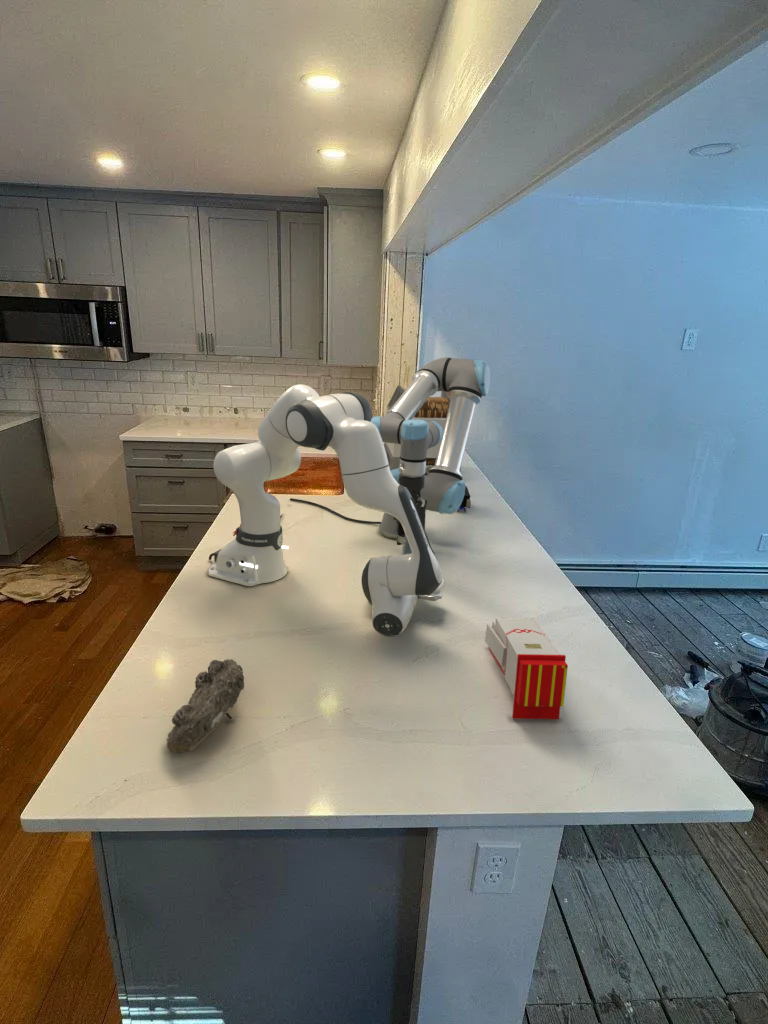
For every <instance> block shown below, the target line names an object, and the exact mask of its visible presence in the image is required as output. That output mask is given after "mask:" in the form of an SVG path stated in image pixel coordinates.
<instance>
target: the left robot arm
mask: <svg viewBox="0 0 768 1024" xmlns="http://www.w3.org/2000/svg"><path fill="white" fill-rule="evenodd" d="M372 418H373V414H372V408H371V405H370V403H369V402H368V400H367V399H366V397H365V396H363V395H362V394H359V393H356V392H349V391H348V392H347V391H344V392H340V393H330V394H324V395H319V393H318V392H317V391H316V390H315V389H314V388H313V387H311V386H310V385H306V384H303V383H299V384H294V385H292V386H290V387H289V388H288V389H286V391H285V392H283V393H282V394H281V395H280V396H279V397H278V398H277V399H276V401H275V402H274V403H273V404H272V405H271V407H270V409H269V410H268V412H267V413H266V415H265V416H264V418H263V419H262V420H261V422H260V423H259V425H258V427H257V428H258V429H257V435H258V440H257V441H255V442H250V443H249V442H248V443H243V444H236V445H232V446H230V447H227V448H225V449H222V450H220V451H218V452H217V453H216V455H215V456H214V460H213V464H212V465H213V466H212V467H213V473H214V475H215V477H216V479H217V480H218V481H219V482H220V484H222V485H223V486H225V487H226V488H228V489H230V491H231V492H232V493H233V494H234V496H235V498H236V500H237V502H238V507H239V516H240V524H239V526H237V528H236V529H235V530H234V531H233V532H232V536H233V537H235V538H234V539H232V540H231V541H230V542H228V543H227V544H226V545H224V546H223V547H222V548H220V549H218V550H216V551H214V552H212V553H210V554H209V556H208V560H209V561H212V560H213V561H214V562H213V563H212V564H211V566H210V567H209V569H208V576H209V577H212V578H216V579H219V580H223V581H227V582H231V583H235V584H238V585H242V586H246V587H255V586H258V585H262V584H267V583H272V582H276V581H278V580H280V579H282V578H284V577H285V576H286V575H287V573H288V568H287V566H286V563H285V559H284V552H283V549H285V550H289V546H288V545H283V543H284V535H283V526H282V525H281V519H280V516H281V503H280V501H279V500H278V498H277V496H276V495H273V494H271V493H269V492H266V490H265V485H264V484H265V482H269V481H274V480H279V479H282V478H285V477H287V476H289V475H291V474H293V473H295V472H297V471H298V470H299V468H300V467H301V462H302V454H301V450H300V448H299V447H303V448H308V449H309V448H310V449H315V450H318V451H321V452H322V451H325V450H326V449H327V448H328V447H329V448H331V449H332V450H333V451H334V452H335V453H336V455H337V458H338V462H339V469H340V473H341V479H342V484H343V487H344V490H345V492H346V494H347V497H348V498H349V499H350V500H351V501H352V502H354V503H355V504H356V505H358V506H360V507H362V508H365V509H368V510H372V511H377V512H380V513H383V514H384V513H387V514H390V515H392V516H394V517H395V518H397V519H398V520H399V521H400V523H401V524H402V527H403V529H404V532H405V534H406V537H407V540H408V542H409V545H410V548H411V550H412V553H411V554H404V555H402V554H397V555H384V556H377V557H372V558H369V560H368V561H367V562H366V564H365V566H364V568H363V570H362V574H361V588H362V591H363V594H364V597H365V599H366V600H367V602H369V604H370V605H371V606H372V612H371V613H372V614H371V624H372V627H373V629H374V631H376V632H377V633H378V634H380V635H382V636H385V637H396V636H398V635H401V633H403V632H404V631H405V630H406V628H407V627H408V625H409V623H410V621H411V619H412V617H413V612H414V610H415V607H416V606H417V602H418V600H423V601H430V602H436V601H439V600H442V598H443V597H444V592H445V583H446V582H445V580H444V579H443V578H442V576H443V575H442V573H443V572H442V568H441V565H440V562H439V561H438V558H437V556H436V554H435V552H434V550H433V548H432V547H433V546H432V545H431V542H430V540H429V538H428V534H427V532H426V528H425V529H424V526H423V524H422V521H421V518H420V516H419V513H418V511H417V508H416V505H415V503H414V501H413V498H412V496H411V494H410V492H409V491H408V489H407V488H406V487H404V486H402V485H400V484H399V483H398V482H397V481H396V480H395V478H394V477H393V475H392V473H391V471H390V467H389V463H388V458H387V454H386V450H385V447H384V442H383V441H382V438H381V435H380V433H379V431H378V428H377V427H376V425H374V424H373V423H372V422H371V419H372ZM212 558H213V559H212Z"/></svg>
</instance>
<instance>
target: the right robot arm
mask: <svg viewBox="0 0 768 1024" xmlns="http://www.w3.org/2000/svg"><path fill="white" fill-rule="evenodd" d="M490 387H491V372H490V366H489V364H488V363H487V362H486V361H485V360H480V359H476V358H474V359H471V358H458V357H457V358H455V357H447V356H446V357H439V358H436V359H434V360H432V361H429V362H428V363H426V364H424V365H423V366H421V367H420V368H419V369H418V370H417V371H416V372H415V373H414V375H413V376H412V381H411V383H410V384H409V385H408V386H407V388H406V389H404V390H405V392H404V393H403V394H402V395H401V396H400V398H399V399H398V400H397V401H396V402H395V404H394V405H393V406H392V407H391V409H390V410H389V411H388V412H387V411H386V412H387V413H385V414H384V416H381V415H379V416H377V415H376V416H375V415H374V416H372V418H371V422H372V423H373V424H374V425H376V427H377V428H378V431H379V433H380V435H381V438H382V441H383V443H384V442H387V443H394V444H401V451H400V468H397V469H393V470H391V473H392V475H393V477H394V478H395V480H396V481H397V482H398V483H399V484H400V485H402V486H404V487H406V488H407V489H408V491H409V492H410V494H411V496H412V498H413V501H414V503H415V505H416V508H417V511H418V513H419V516H420V518H421V521H422V524H423V526H424V529H425V530H426V511H430V512H435V513H439V514H446V515H452V514H455V513H456V512H458V511H457V510H458V509H459V507H460V505H461V503H462V501H463V498H464V495H465V488H466V486H467V485H466V483H465V482H464V480H463V474H462V473H460V466H461V467H462V461H463V459H464V453H465V449H466V445H467V441H468V437H469V433H470V427H471V424H472V420H473V416H474V413H475V407H476V405H479V404H480V403H481V401H482V398H483V397H486V396H488V394H489V392H490ZM442 391H445V392H448V397H449V398H450V404H449V409H448V413H447V417H446V421H445V425H444V429H443V430H442V427H441V426H440V425H439V424H438V423H437V422H434V421H427V422H426V421H423V420H416V419H412V418H413V417H414V416H415V414H416V413H417V412H418V411H419V409H420V408H421V407H422V405H423V404H424V403H425V401H426V400H427V399H428V397H433V396H434V395H435V394H437V392H442ZM440 441H441V442H440ZM439 442H440V446H439V450H438V454H437V458H436V462H435V466H431V467H430V468H429V469H428V472H427V474H426V468H427V466H426V454H427V449H429V448H431V447H434V446H436V445H437V444H438V443H439ZM289 500H290V501H293V502H299V503H305V504H309V505H314V506H317V507H319V508H321V509H324V510H326V511H328V512H330V513H333V514H334V515H336V516H338V517H340V518H342V519H344V520H347V521H351V522H355V523H360V524H361V523H362V524H369V525H378V533H379V534H380V535H381V536H382V537H385V538H387V539H389V540H395V541H396V545H397V546H403V544H402V543H399V542H398V541H397V535H398V533H399V532H401V531H404V529H403V527H402V524H401V523H400V521H399V520H398V519H397V518H395V517H394V516H392V515H390V514H387V513H384V512H383V515H382V519H381V521H372V520H362V519H355V518H352V517H351V518H350V517H349V516H348V517H347V516H346V515H343V514H341V513H339V512H337V511H335V510H333V509H331V508H330V507H327V506H325V505H322V504H320V503H318V502H317V503H316V502H313V501H310V500H309V501H308V500H305V499H300V498H293V497H290V498H289ZM459 510H460V509H459Z"/></svg>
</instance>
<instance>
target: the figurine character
mask: <svg viewBox="0 0 768 1024" xmlns="http://www.w3.org/2000/svg"><path fill="white" fill-rule="evenodd" d="M471 501H472V500H471V494H470V491H469V488H468V486H467V485H466V488H465V495H464V498H463V501H462V503H461V505H460V507H459V509H458V510H457V511H456V512H460V510H463V511H464V513H466V512H467V509H470V508H471V505H472V504H471ZM466 508H467V509H466Z"/></svg>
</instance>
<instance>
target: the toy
mask: <svg viewBox="0 0 768 1024" xmlns="http://www.w3.org/2000/svg"><path fill="white" fill-rule="evenodd" d="M484 642H485V643H486V645H487V646H488V650H489V651H490V654H491V655H492V657H493V659H494V660H495V662H496V664H497V666H498V667H499V669H500V671H501V672H502V675H503V676H504V678H505V680H506V682H507V684H508V686H509V688H510V691H511V693H512V694H513V704H512V705H513V706H512V715H511V717H512V719H513V720H560V714H561V708H563V707H564V704H565V695H566V685H567V677H568V668H569V666H568V663H567V662H566V657H567V656H566V654H560V653H559V651H558V650H557V648H556V647H555V646H554V645H553V643H552V642H551V640H550V639H549V638H548V636H547V635H546V634H545V632H544V631H543V629H542V628H541V627H540V625H539V623H537V621H536V620H535V619H534V618H523V617H522V618H521V617H520V618H519V617H516V618H515V617H496V618H495V620H492V622H491V624H490V623H486V629H485V637H484Z"/></svg>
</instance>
